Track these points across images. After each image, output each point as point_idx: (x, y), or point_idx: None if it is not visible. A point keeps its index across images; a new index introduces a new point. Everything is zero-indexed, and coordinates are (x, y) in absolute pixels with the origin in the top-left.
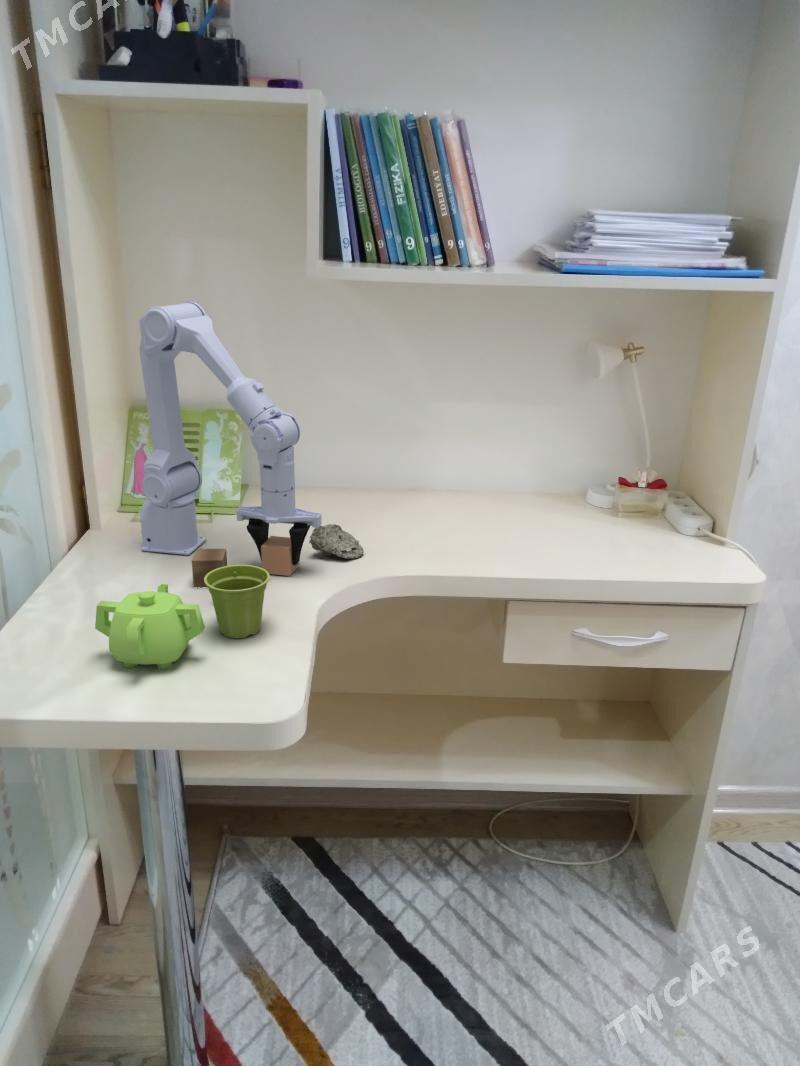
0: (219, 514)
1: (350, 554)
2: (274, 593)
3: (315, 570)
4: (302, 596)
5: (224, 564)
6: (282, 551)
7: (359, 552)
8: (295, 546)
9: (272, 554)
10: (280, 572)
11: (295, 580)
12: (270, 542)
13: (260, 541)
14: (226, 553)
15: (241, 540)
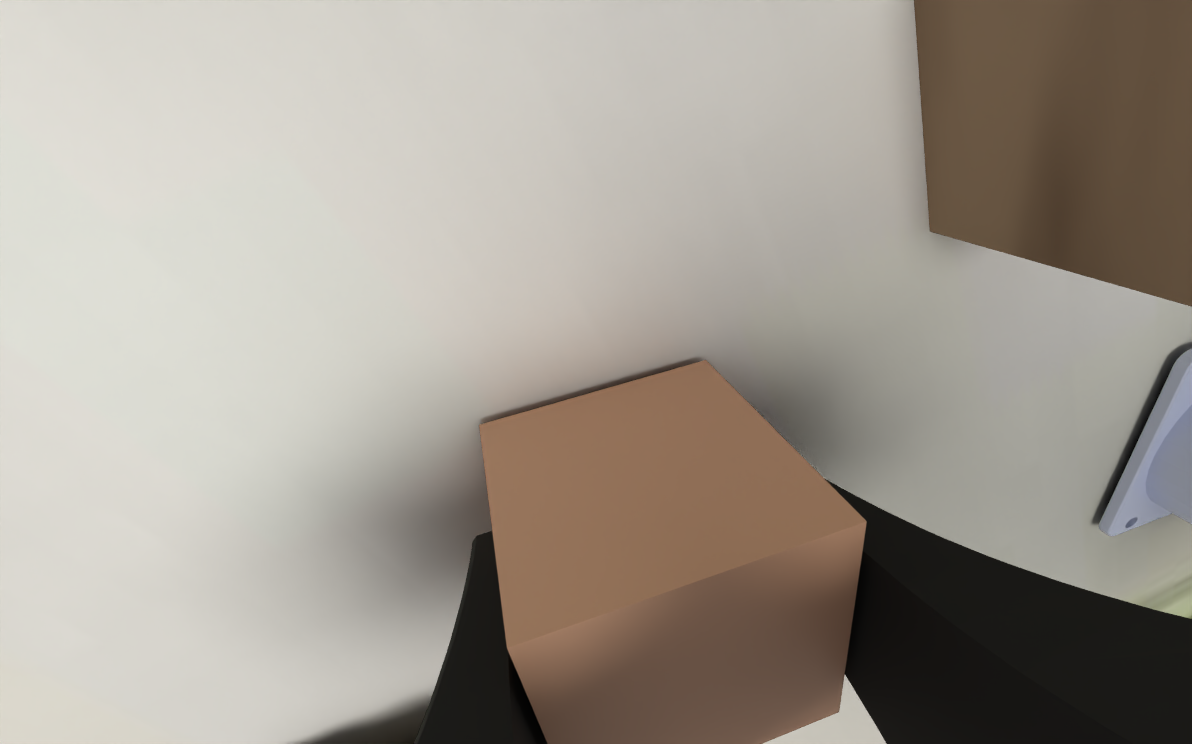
0: None
1: None
2: (389, 42)
3: (379, 587)
4: (19, 103)
5: (1113, 82)
6: (588, 578)
7: None
8: (455, 727)
9: (691, 501)
10: (564, 413)
11: (400, 395)
12: (797, 634)
13: (913, 582)
14: (1141, 281)
15: None
